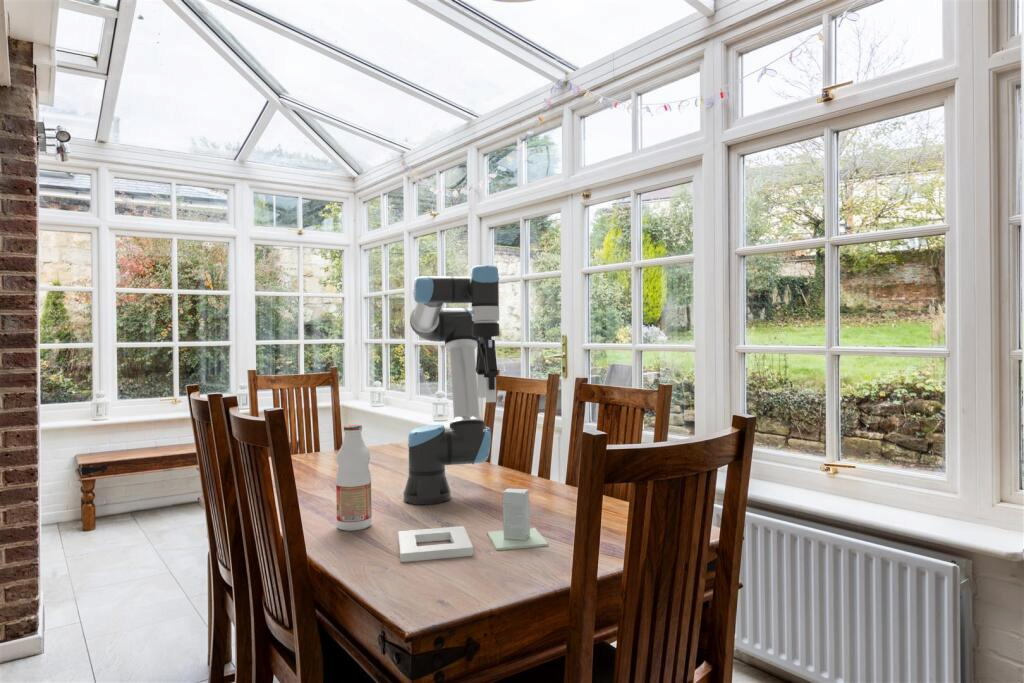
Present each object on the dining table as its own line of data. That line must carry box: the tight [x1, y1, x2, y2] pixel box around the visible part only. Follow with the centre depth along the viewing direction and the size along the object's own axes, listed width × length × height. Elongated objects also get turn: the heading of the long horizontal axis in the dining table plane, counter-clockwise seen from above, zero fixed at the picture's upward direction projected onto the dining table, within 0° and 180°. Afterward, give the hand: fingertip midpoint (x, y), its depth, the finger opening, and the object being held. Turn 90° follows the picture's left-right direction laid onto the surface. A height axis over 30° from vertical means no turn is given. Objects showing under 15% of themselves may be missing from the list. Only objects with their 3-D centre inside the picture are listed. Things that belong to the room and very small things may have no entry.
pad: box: [486, 527, 549, 551], centre depth 157 cm, size 13×13×1 cm
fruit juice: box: [335, 424, 373, 532], centre depth 170 cm, size 9×9×28 cm
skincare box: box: [502, 487, 531, 540], centre depth 157 cm, size 6×4×12 cm
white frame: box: [397, 525, 474, 563], centre depth 152 cm, size 17×17×2 cm
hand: (486, 399), depth 168 cm, fingers open, 13 cm apart
